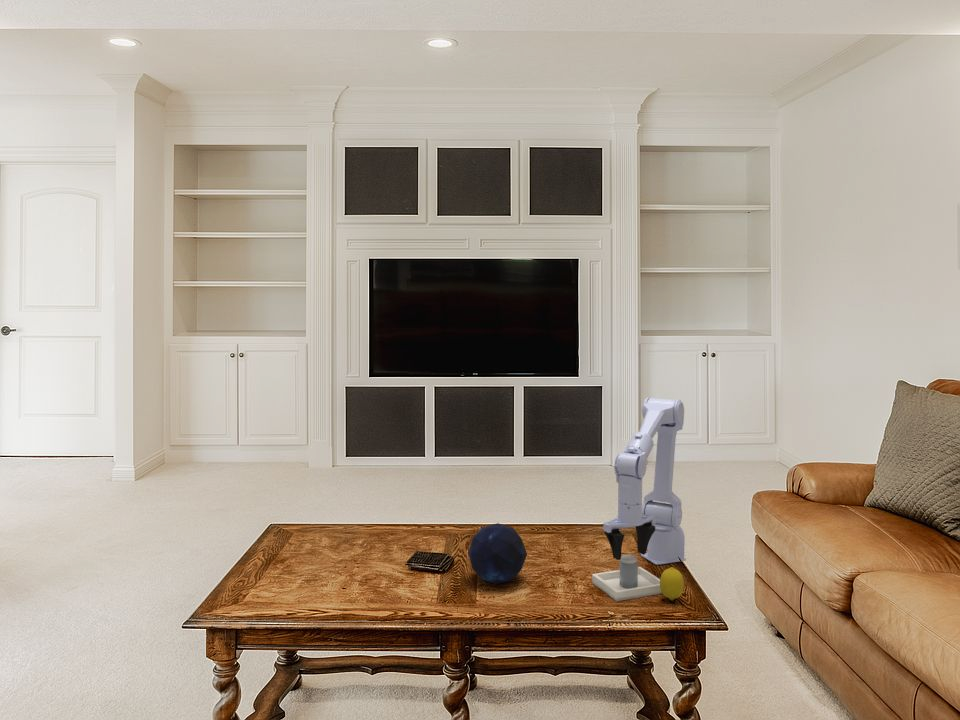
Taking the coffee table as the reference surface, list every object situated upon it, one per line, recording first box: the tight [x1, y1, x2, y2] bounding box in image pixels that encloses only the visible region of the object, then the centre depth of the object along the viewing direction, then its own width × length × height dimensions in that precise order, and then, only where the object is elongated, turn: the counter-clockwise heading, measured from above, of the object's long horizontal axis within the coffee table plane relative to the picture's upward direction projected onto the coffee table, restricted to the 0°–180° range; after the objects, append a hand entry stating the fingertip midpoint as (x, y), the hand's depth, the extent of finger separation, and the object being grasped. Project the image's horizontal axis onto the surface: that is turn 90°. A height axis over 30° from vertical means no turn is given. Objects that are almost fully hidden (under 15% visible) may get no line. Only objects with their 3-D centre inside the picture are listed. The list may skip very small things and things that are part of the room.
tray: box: [591, 566, 664, 602], centre depth 183 cm, size 14×12×2 cm
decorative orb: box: [467, 522, 528, 585], centre depth 188 cm, size 14×15×15 cm
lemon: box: [659, 566, 685, 601], centre depth 175 cm, size 6×6×8 cm
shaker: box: [619, 554, 639, 589], centre depth 183 cm, size 4×4×7 cm
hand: (629, 555), depth 183 cm, fingers open, 7 cm apart
